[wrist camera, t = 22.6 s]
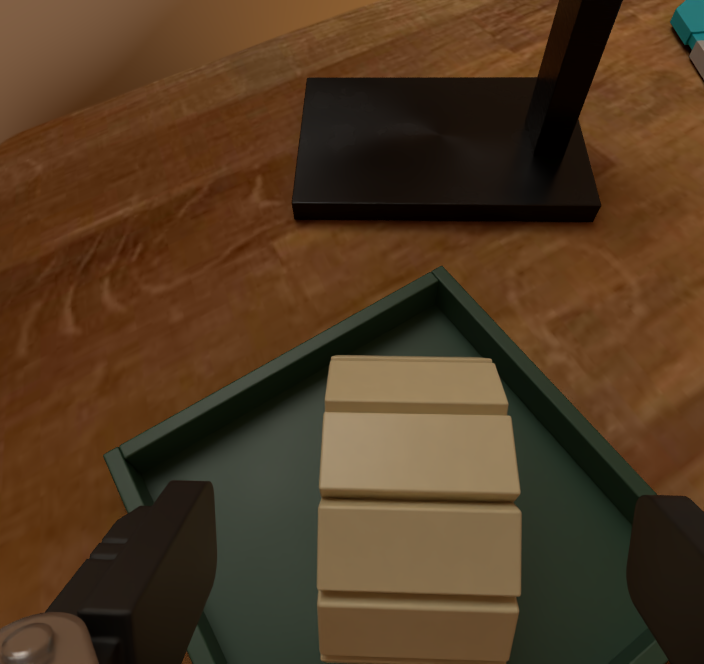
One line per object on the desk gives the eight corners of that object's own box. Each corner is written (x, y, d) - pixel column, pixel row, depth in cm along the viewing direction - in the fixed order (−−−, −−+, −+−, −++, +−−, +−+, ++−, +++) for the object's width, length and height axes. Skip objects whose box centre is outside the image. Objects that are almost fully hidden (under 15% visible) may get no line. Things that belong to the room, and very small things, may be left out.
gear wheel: (331, 664, 18) (307, 657, 11) (342, 419, 22) (330, 299, 15) (472, 670, 18) (543, 665, 11) (456, 422, 22) (497, 301, 15)
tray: (331, 937, 15) (326, 975, 13) (125, 474, 22) (101, 454, 20) (708, 598, 19) (747, 589, 17) (436, 295, 26) (442, 264, 24)
